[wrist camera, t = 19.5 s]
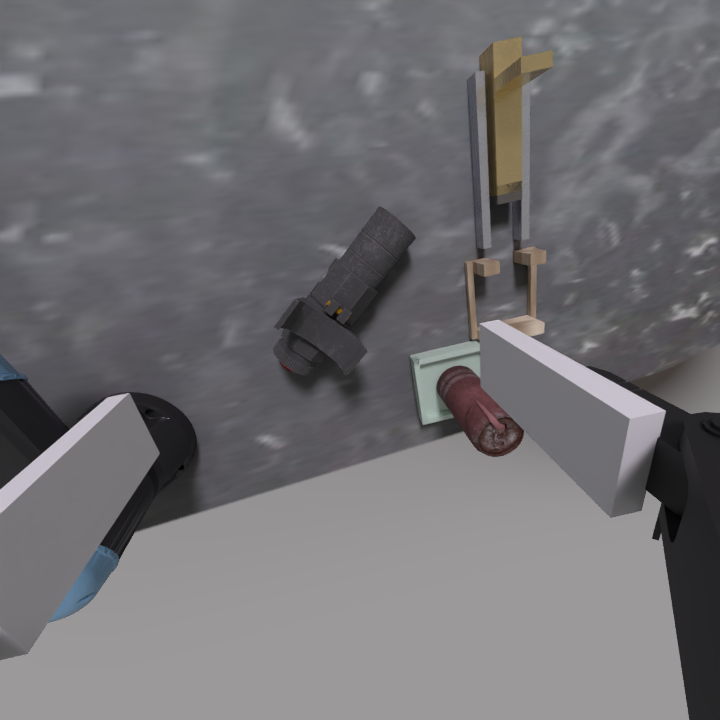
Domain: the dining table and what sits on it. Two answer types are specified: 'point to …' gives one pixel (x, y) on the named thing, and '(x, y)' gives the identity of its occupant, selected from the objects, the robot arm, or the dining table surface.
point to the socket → (492, 267)
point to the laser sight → (341, 299)
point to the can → (478, 412)
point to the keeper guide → (481, 163)
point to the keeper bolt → (507, 113)
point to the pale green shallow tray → (430, 369)
